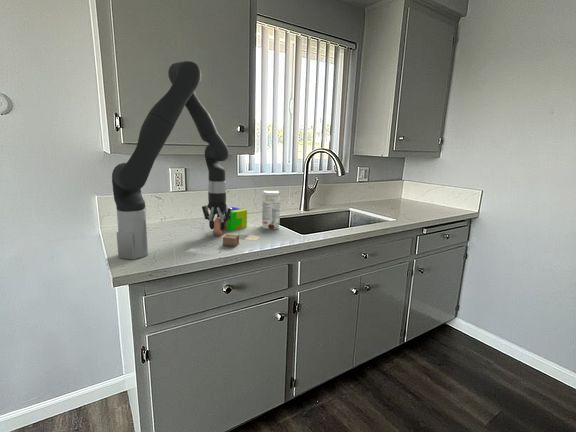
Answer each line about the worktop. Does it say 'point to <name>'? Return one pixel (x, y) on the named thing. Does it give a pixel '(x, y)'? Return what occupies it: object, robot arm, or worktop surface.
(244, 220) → the puzzle toy
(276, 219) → the white supplement bottle
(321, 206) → the worktop surface
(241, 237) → the track
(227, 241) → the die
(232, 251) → the worktop surface
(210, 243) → the worktop surface
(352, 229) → the worktop surface
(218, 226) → the pawn
